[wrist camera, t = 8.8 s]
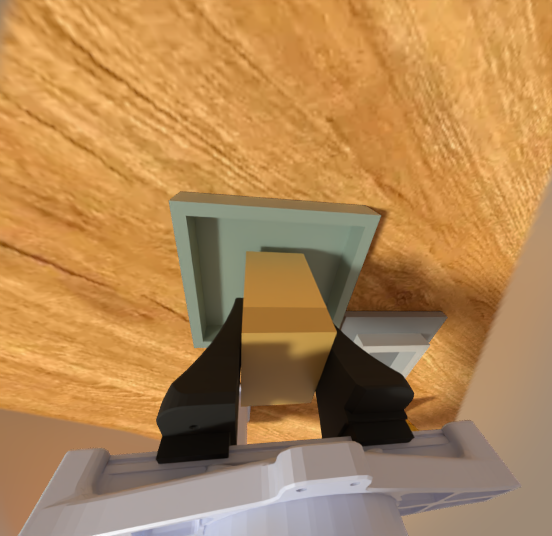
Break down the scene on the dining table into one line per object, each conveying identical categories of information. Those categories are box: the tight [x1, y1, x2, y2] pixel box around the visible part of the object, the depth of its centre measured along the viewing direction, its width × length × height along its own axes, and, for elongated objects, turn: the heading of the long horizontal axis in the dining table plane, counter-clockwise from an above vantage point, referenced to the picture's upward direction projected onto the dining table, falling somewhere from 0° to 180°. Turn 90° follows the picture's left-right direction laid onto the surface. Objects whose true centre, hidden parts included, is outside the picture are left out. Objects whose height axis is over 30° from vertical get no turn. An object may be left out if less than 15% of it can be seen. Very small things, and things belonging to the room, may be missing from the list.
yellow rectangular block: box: [241, 251, 337, 407], centre depth 13 cm, size 6×4×7 cm, turn 175°
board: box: [339, 311, 448, 378], centre depth 24 cm, size 14×11×2 cm
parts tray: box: [169, 191, 381, 348], centre depth 17 cm, size 13×13×2 cm
